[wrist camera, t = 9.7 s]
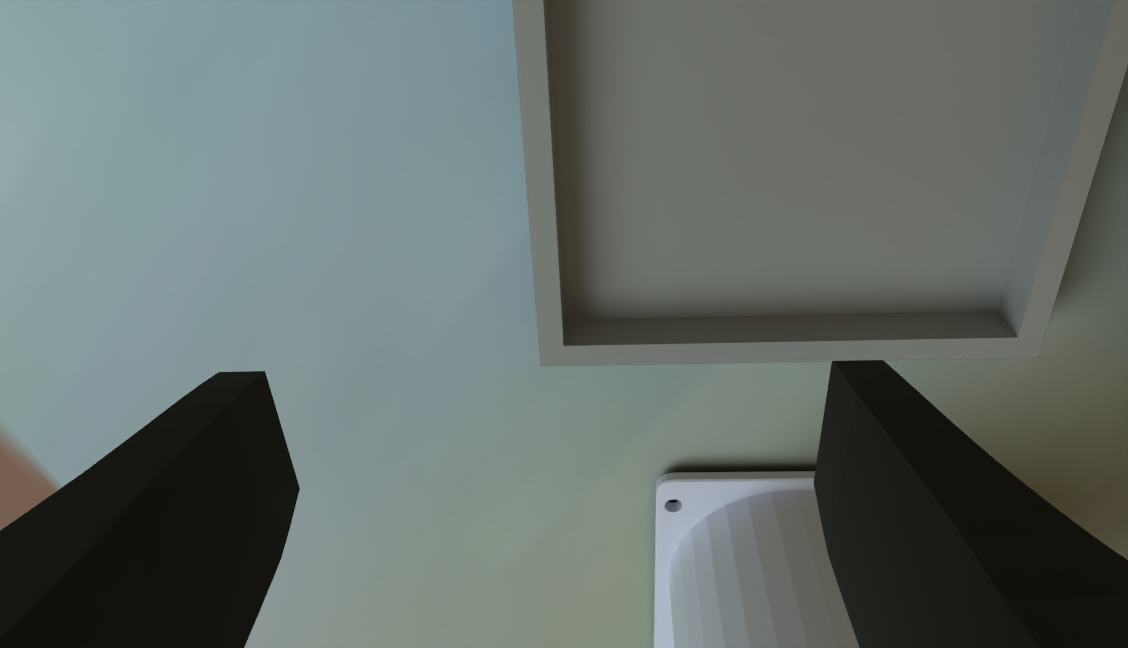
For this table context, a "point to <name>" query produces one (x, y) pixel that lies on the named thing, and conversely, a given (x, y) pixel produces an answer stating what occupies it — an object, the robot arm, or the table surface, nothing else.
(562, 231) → the tray
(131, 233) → the table surface
